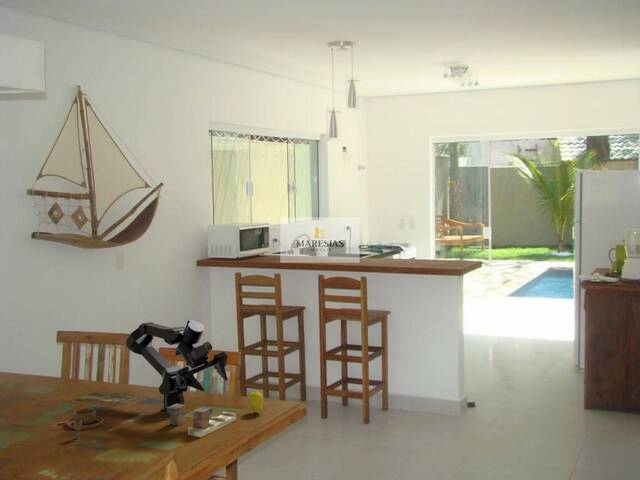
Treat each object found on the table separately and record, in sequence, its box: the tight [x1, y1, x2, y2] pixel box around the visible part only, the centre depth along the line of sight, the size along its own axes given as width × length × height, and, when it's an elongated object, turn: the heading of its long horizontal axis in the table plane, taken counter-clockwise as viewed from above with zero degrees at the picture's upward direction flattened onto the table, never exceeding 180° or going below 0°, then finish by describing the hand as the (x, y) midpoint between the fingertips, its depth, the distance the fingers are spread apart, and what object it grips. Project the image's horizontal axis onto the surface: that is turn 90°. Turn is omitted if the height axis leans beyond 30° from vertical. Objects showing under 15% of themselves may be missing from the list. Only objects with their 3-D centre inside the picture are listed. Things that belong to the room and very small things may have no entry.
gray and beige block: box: [166, 404, 187, 426], centre depth 255 cm, size 4×5×6 cm, turn 154°
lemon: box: [247, 390, 265, 414], centre depth 268 cm, size 6×6×8 cm
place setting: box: [57, 408, 104, 440], centre depth 250 cm, size 18×20×6 cm
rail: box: [187, 406, 237, 438], centre depth 252 cm, size 5×20×8 cm, turn 154°
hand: (215, 385), depth 255 cm, fingers open, 9 cm apart
